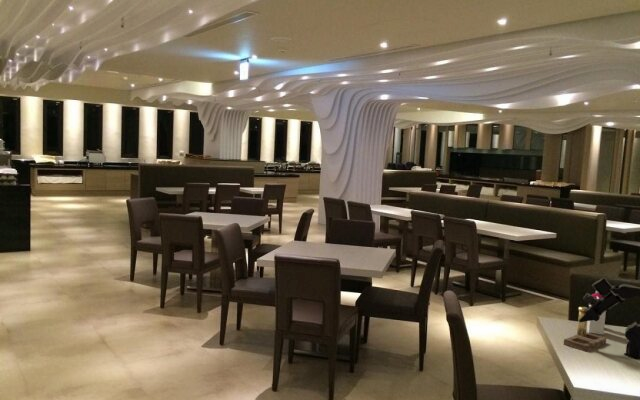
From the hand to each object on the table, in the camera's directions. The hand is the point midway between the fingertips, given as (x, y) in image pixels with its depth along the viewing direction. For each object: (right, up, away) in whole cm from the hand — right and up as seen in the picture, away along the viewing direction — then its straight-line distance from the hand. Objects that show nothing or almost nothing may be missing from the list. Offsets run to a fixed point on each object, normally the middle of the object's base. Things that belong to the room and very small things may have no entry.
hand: (579, 320), depth 267 cm
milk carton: (+19, -12, +23) cm, 32 cm away
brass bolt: (+1, -7, 0) cm, 7 cm away
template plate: (+4, -13, +3) cm, 14 cm away
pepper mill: (+24, -11, +34) cm, 43 cm away
